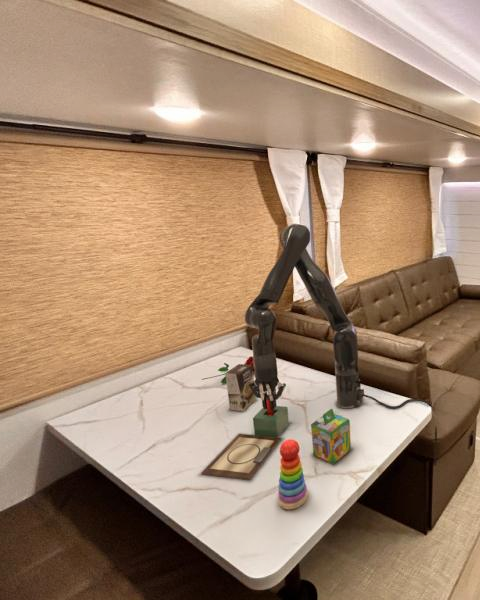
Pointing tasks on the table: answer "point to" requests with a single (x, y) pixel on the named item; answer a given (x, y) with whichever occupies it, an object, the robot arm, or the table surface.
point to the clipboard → (242, 457)
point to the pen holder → (271, 422)
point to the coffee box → (240, 387)
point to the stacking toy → (291, 477)
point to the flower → (224, 369)
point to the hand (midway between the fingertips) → (269, 408)
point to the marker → (268, 405)
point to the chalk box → (331, 437)
